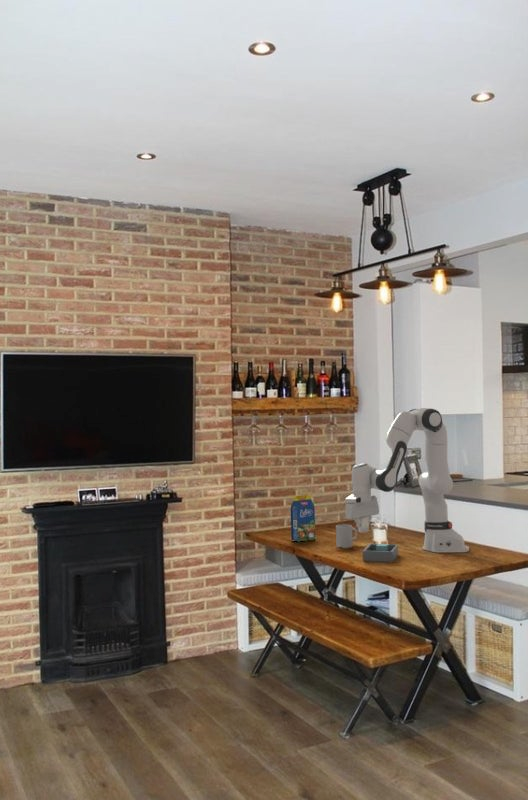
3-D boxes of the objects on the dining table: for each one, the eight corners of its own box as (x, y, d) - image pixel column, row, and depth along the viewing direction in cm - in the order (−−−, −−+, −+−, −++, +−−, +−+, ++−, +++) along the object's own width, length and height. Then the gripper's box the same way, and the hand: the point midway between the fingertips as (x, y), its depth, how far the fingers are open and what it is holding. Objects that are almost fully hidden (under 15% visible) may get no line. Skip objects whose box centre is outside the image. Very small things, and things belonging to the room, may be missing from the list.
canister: (363, 530, 360) (362, 516, 360) (371, 531, 356) (370, 516, 356) (356, 531, 357) (355, 517, 357) (363, 532, 353) (363, 518, 353)
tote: (398, 555, 361) (398, 544, 361) (392, 562, 343) (392, 551, 344) (369, 554, 365) (369, 543, 365) (363, 561, 348) (362, 550, 348)
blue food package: (315, 540, 407) (314, 494, 408) (298, 542, 401) (296, 496, 401) (308, 538, 413) (307, 493, 413) (291, 541, 406) (290, 495, 406)
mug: (341, 548, 380) (341, 527, 380) (333, 546, 388) (332, 525, 388) (361, 546, 385) (360, 525, 386) (352, 543, 393) (352, 523, 393)
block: (378, 554, 361) (377, 543, 361) (388, 554, 360) (388, 544, 360) (376, 556, 356) (376, 545, 356) (386, 556, 355) (386, 546, 355)
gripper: (371, 494, 366) (373, 522, 365) (342, 499, 353) (343, 528, 352) (381, 495, 361) (382, 523, 361) (352, 500, 348) (353, 529, 348)
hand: (363, 526), depth 356 cm, fingers closed on canister, 5 cm apart
